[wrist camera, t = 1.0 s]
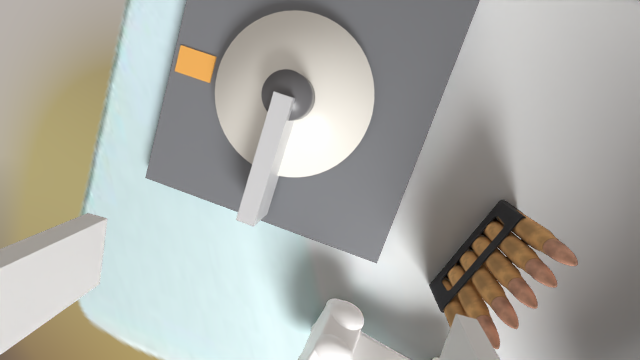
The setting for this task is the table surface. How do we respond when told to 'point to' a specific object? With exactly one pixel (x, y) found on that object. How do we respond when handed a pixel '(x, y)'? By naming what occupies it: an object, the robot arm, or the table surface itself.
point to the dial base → (367, 158)
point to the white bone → (344, 337)
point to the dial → (292, 100)
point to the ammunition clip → (498, 269)
